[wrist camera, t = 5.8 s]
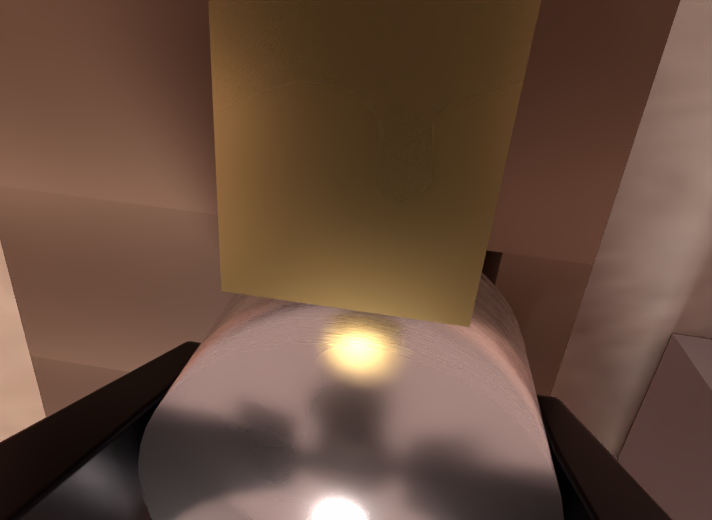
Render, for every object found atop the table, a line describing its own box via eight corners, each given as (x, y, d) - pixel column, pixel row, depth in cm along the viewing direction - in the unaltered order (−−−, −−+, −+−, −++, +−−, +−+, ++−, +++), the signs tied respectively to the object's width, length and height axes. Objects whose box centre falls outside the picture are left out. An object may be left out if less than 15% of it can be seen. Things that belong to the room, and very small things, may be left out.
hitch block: (496, 384, 15) (538, 668, 9) (133, 328, 16) (-67, 548, 10) (631, -126, 10) (1012, -361, 3) (64, -165, 11) (-508, -406, 4)
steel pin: (478, 368, 13) (509, 672, 7) (279, 338, 14) (158, 601, 8) (524, 173, 11) (626, 387, 5) (282, 145, 11) (111, 309, 5)
